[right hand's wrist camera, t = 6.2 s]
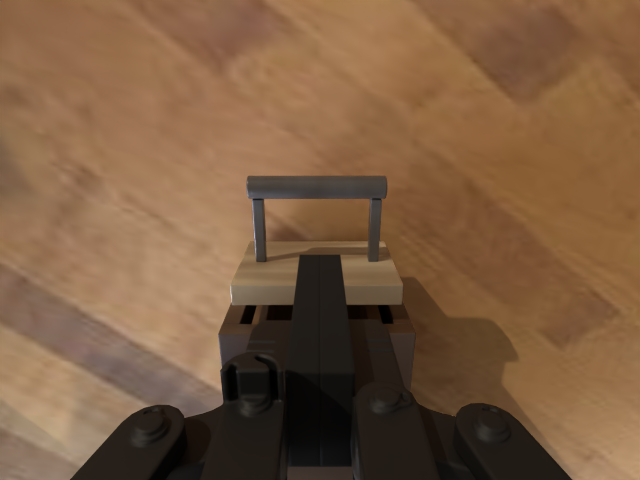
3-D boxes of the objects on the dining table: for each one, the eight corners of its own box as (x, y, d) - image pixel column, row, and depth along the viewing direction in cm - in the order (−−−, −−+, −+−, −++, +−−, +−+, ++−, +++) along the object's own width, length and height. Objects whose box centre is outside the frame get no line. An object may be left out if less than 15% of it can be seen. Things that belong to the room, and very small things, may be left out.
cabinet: (245, 266, 28) (217, 333, 20) (388, 266, 28) (416, 333, 20) (258, 438, 34) (240, 543, 26) (377, 438, 34) (395, 542, 26)
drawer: (244, 165, 25) (221, 189, 19) (389, 165, 25) (411, 189, 19) (261, 414, 32) (248, 490, 26) (373, 414, 32) (386, 489, 26)
